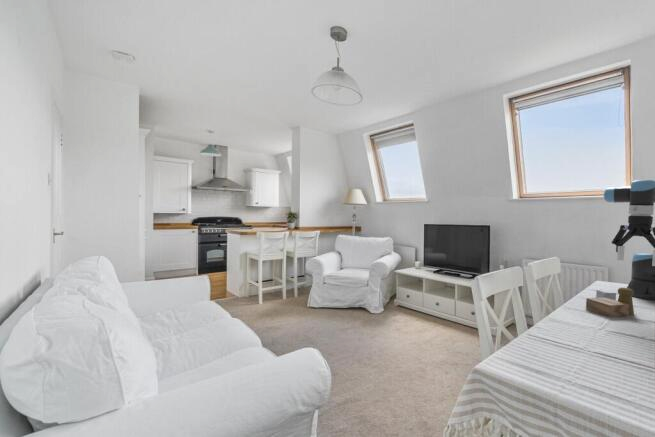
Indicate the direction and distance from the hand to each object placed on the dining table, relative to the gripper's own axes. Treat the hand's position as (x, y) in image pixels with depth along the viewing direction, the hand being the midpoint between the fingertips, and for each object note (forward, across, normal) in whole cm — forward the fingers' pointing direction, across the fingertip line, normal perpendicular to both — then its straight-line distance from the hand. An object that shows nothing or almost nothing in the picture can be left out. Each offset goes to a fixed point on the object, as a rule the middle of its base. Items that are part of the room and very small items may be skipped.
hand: (637, 262), depth 134 cm
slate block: (+22, -12, 0) cm, 25 cm away
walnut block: (+22, -1, -13) cm, 26 cm away
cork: (+23, 0, -5) cm, 23 cm away
